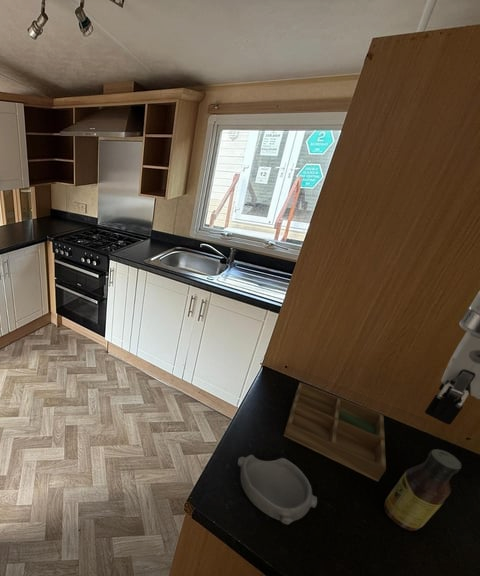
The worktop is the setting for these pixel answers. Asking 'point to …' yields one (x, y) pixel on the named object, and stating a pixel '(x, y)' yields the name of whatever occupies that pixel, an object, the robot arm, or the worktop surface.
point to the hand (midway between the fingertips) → (443, 405)
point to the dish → (276, 488)
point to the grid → (338, 430)
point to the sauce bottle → (422, 490)
